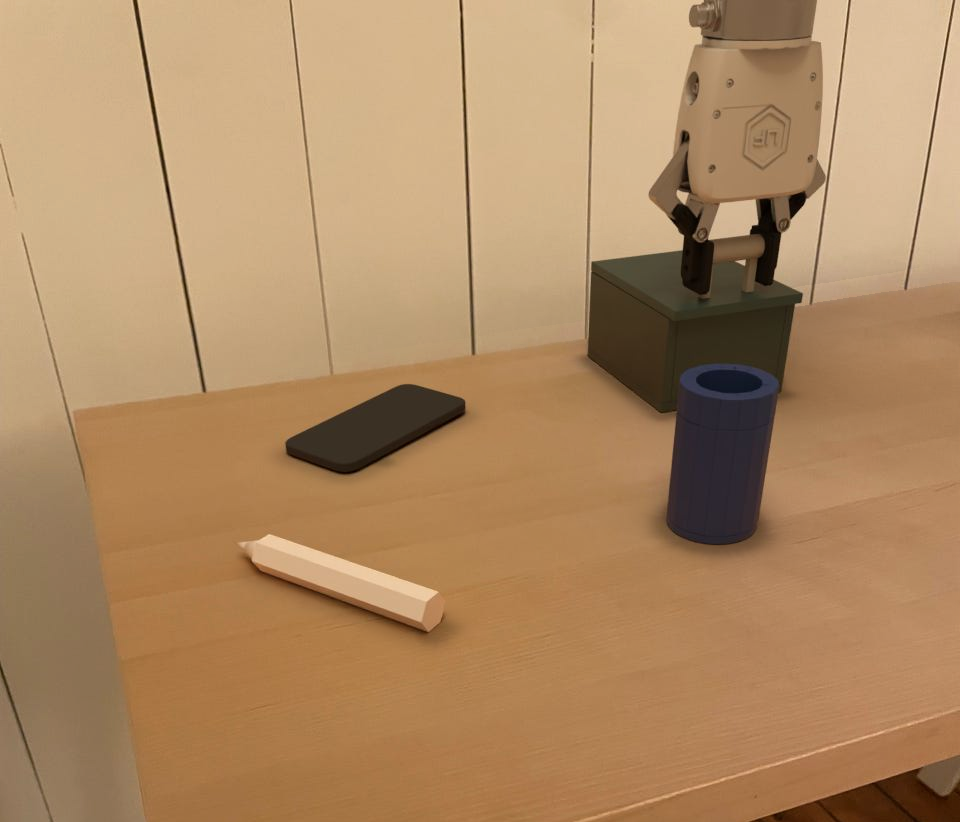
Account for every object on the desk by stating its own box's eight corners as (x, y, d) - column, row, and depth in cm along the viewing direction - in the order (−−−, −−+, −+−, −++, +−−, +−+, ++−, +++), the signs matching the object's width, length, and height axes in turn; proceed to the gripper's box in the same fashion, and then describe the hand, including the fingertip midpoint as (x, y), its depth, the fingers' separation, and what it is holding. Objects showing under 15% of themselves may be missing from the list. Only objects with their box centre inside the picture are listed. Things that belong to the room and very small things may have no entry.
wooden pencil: (239, 563, 67) (438, 632, 60) (216, 561, 65) (419, 632, 58) (247, 524, 66) (448, 589, 59) (225, 522, 65) (430, 588, 57)
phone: (277, 442, 78) (404, 381, 88) (279, 452, 79) (405, 390, 88) (346, 466, 75) (471, 400, 84) (348, 477, 75) (472, 409, 85)
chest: (781, 392, 87) (795, 301, 82) (661, 413, 84) (669, 319, 79) (696, 339, 98) (704, 256, 94) (587, 356, 95) (590, 271, 90)
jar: (709, 493, 72) (726, 356, 66) (775, 526, 68) (799, 383, 62) (648, 518, 69) (660, 378, 63) (712, 554, 65) (731, 407, 59)
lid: (801, 303, 82) (812, 235, 79) (674, 321, 79) (680, 252, 76) (704, 256, 93) (711, 196, 90) (590, 270, 90) (593, 209, 87)
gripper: (676, 31, 65) (654, 313, 76) (895, 18, 70) (845, 285, 80) (624, 23, 71) (610, 286, 82) (829, 11, 76) (791, 261, 86)
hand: (727, 283), depth 81 cm, fingers closed on lid, 5 cm apart
